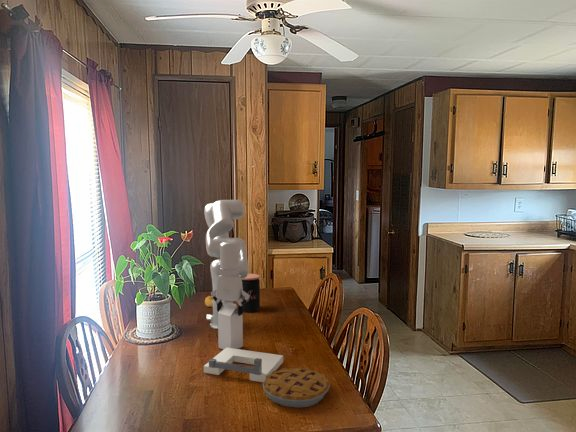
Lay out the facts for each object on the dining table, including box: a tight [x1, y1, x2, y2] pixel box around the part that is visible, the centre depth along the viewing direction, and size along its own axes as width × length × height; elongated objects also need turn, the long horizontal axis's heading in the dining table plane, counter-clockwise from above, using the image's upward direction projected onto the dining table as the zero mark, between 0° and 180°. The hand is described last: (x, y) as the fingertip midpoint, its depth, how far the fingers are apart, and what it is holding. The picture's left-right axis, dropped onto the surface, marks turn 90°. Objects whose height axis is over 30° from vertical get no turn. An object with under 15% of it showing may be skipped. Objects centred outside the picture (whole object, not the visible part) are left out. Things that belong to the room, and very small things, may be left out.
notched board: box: [203, 347, 284, 383], centre depth 167 cm, size 24×18×2 cm
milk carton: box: [217, 301, 244, 351], centre depth 184 cm, size 7×7×19 cm
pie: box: [262, 366, 331, 408], centre depth 148 cm, size 22×22×5 cm
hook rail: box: [208, 357, 262, 375], centre depth 159 cm, size 20×2×5 cm, turn 71°
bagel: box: [204, 295, 213, 308], centre depth 243 cm, size 10×11×5 cm
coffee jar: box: [241, 273, 261, 313], centre depth 235 cm, size 11×11×18 cm
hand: (230, 313), depth 184 cm, fingers closed on milk carton, 8 cm apart
